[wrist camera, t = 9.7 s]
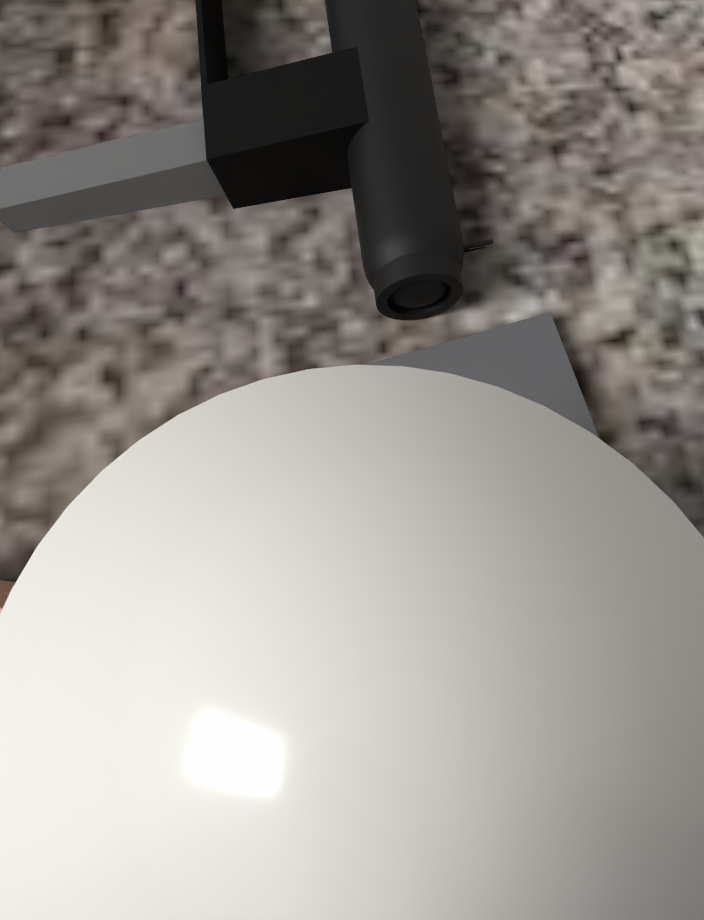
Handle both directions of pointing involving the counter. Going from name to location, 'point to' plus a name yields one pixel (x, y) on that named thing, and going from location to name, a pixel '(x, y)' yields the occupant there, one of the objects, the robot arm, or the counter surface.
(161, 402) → the counter surface
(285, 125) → the door handle
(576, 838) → the white smooth rounded cylinder
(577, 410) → the dark grey flat plate
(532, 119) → the counter surface
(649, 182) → the counter surface
